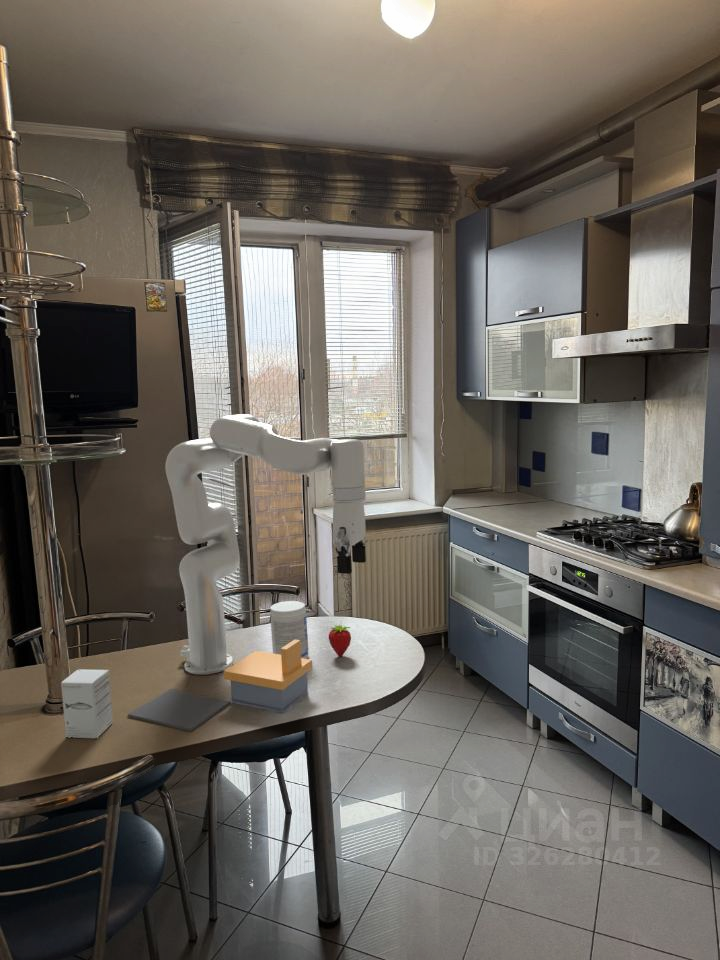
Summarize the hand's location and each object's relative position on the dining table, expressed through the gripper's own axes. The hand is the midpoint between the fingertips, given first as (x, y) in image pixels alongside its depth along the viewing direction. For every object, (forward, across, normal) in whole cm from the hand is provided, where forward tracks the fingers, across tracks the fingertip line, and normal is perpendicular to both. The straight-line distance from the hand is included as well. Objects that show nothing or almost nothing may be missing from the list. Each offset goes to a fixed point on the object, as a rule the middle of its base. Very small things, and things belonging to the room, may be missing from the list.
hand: (352, 567), depth 156 cm
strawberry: (+31, -20, -12) cm, 39 cm away
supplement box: (+31, +31, -51) cm, 67 cm away
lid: (+24, +7, -19) cm, 31 cm away
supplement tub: (+31, -16, -25) cm, 42 cm away
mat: (+31, +18, -37) cm, 51 cm away
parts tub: (+31, +7, -19) cm, 37 cm away
